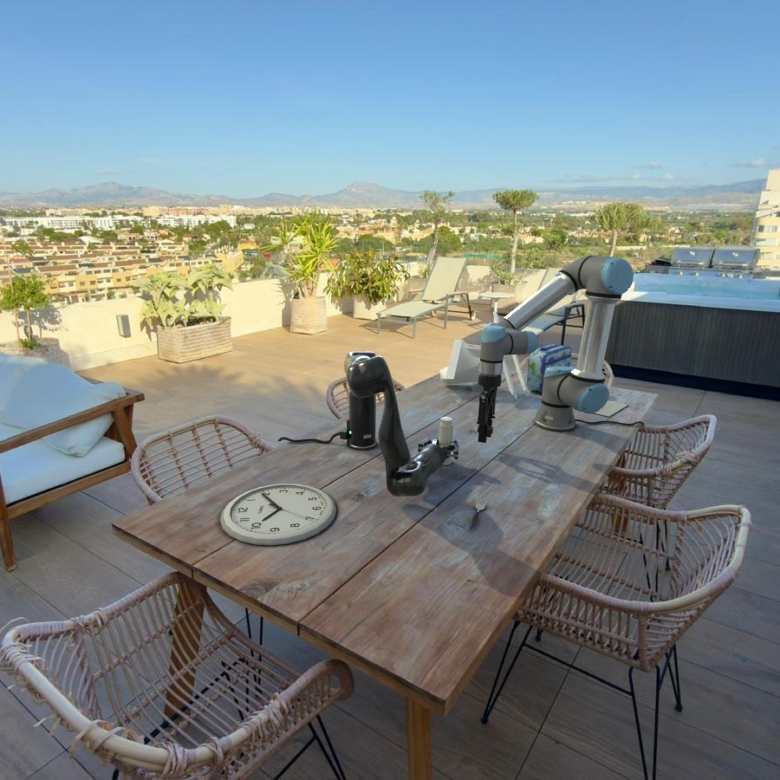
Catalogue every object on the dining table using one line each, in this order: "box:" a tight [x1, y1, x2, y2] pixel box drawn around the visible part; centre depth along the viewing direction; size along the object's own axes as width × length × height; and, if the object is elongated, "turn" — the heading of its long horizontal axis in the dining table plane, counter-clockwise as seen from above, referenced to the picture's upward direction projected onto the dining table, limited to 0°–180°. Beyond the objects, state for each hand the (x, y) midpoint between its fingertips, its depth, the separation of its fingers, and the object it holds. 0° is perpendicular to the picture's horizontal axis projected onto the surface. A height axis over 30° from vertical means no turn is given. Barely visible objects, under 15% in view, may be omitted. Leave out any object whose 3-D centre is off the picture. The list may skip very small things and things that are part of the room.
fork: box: [470, 495, 488, 530], centre depth 138 cm, size 3×16×2 cm, turn 160°
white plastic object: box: [438, 310, 531, 400], centre depth 245 cm, size 37×45×31 cm
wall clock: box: [219, 483, 337, 546], centre depth 138 cm, size 30×2×30 cm
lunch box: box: [526, 343, 572, 394], centre depth 247 cm, size 26×11×21 cm, turn 134°
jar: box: [438, 416, 454, 466], centre depth 168 cm, size 4×4×15 cm
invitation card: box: [594, 399, 629, 418], centre depth 226 cm, size 21×1×15 cm
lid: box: [476, 424, 494, 436], centre depth 177 cm, size 5×5×2 cm
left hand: (448, 440), depth 171 cm, fingers closed on jar, 4 cm apart
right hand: (484, 439), depth 178 cm, fingers closed on lid, 5 cm apart
